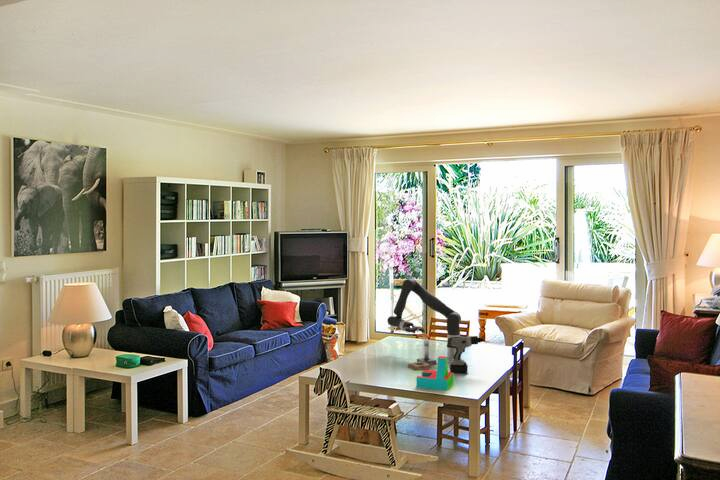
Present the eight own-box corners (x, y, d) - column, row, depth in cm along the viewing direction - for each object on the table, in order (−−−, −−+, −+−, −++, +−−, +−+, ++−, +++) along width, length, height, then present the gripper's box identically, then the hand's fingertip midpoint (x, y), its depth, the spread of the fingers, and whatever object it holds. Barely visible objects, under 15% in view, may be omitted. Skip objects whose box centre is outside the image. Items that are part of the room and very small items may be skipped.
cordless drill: (483, 375, 403) (483, 337, 402) (446, 372, 408) (446, 335, 407) (483, 372, 411) (483, 335, 410) (446, 370, 416) (447, 333, 415)
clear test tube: (427, 362, 438) (427, 340, 438) (429, 363, 435) (430, 340, 435) (423, 362, 437) (423, 340, 436) (425, 363, 434) (426, 341, 433)
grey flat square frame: (428, 360, 443) (428, 357, 443) (436, 363, 434) (436, 360, 434) (416, 362, 438) (416, 358, 438) (424, 365, 429) (424, 361, 429)
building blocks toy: (455, 380, 390) (455, 352, 389) (446, 390, 367) (447, 360, 366) (426, 377, 397) (426, 349, 396) (416, 387, 373) (416, 358, 373)
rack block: (422, 365, 430) (422, 361, 430) (430, 368, 421) (430, 364, 421) (408, 366, 424) (408, 363, 424) (415, 370, 415) (415, 366, 415)
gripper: (399, 321, 454) (412, 326, 440) (414, 320, 461) (427, 325, 447) (398, 331, 454) (411, 337, 440) (413, 330, 462) (426, 335, 448)
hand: (419, 331), depth 444 cm, fingers open, 8 cm apart
